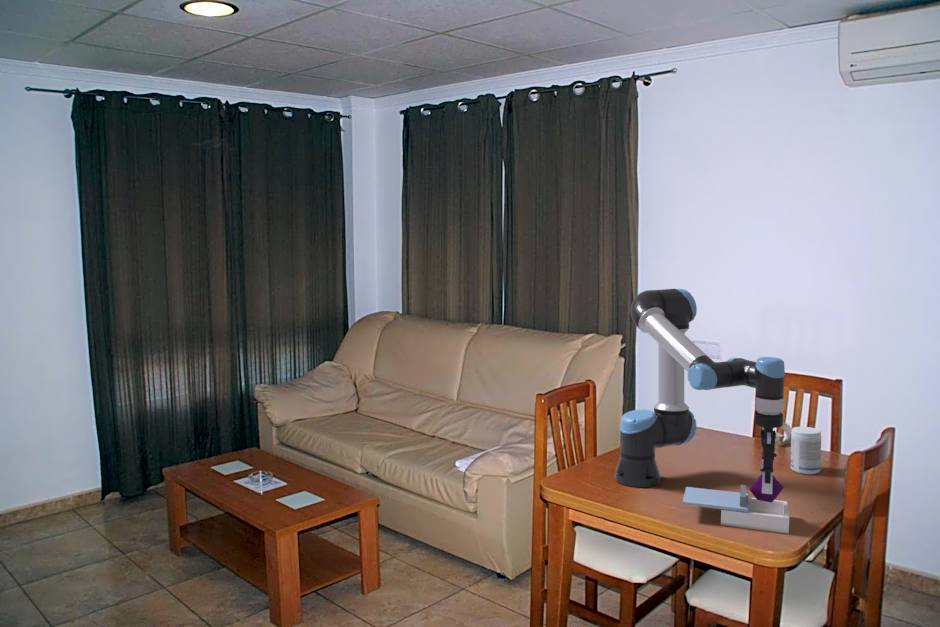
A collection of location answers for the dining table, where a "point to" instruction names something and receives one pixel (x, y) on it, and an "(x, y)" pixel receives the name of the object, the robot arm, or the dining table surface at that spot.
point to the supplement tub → (805, 450)
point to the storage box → (759, 516)
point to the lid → (717, 498)
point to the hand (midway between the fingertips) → (766, 487)
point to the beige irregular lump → (780, 436)
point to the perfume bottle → (757, 488)
